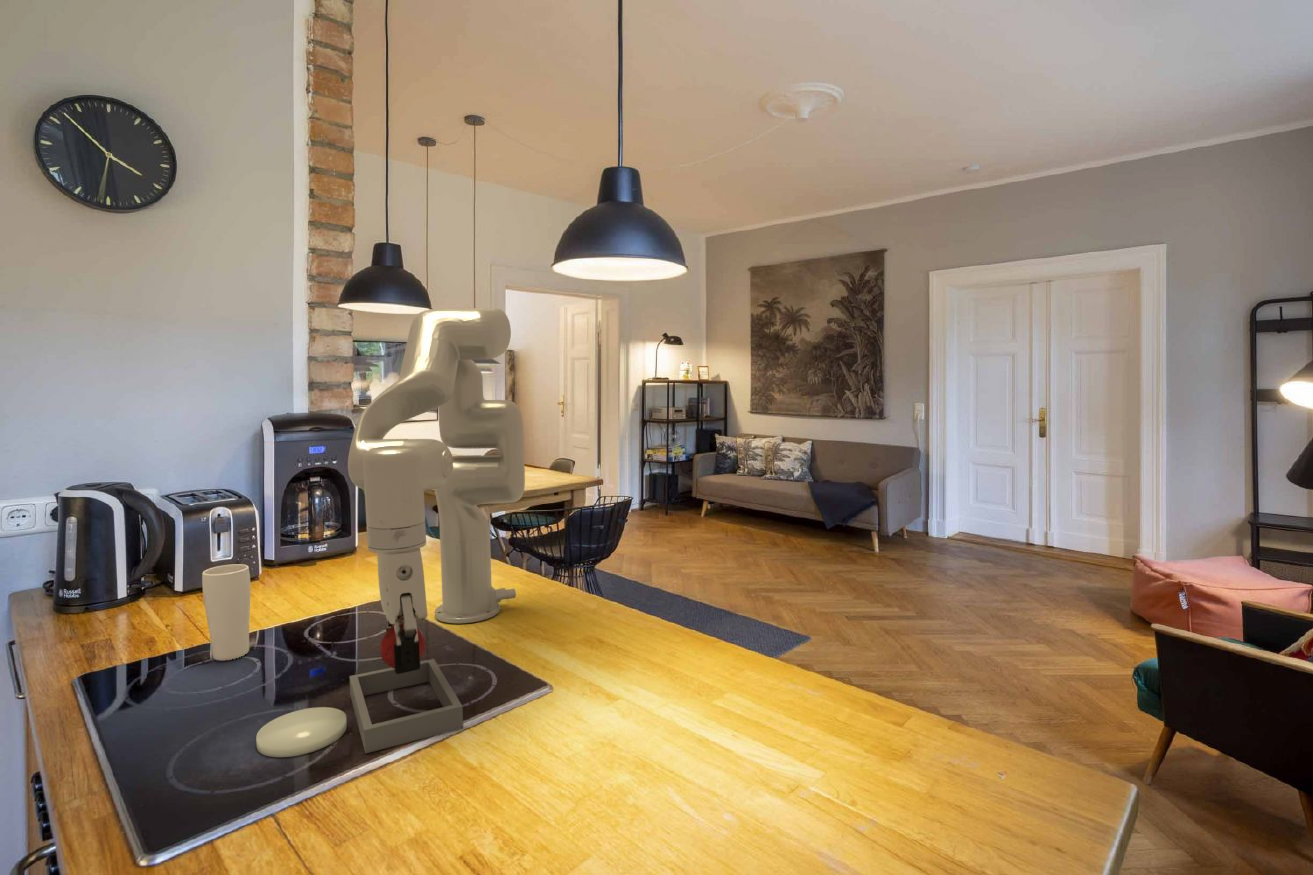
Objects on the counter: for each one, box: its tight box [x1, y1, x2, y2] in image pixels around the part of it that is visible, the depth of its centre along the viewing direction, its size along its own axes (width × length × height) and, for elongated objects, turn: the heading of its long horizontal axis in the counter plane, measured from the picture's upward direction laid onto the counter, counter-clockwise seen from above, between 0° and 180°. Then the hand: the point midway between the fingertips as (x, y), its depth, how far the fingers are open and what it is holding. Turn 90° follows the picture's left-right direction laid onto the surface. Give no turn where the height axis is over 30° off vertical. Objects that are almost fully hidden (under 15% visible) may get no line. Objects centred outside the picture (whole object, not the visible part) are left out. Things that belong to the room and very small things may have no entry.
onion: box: [379, 617, 426, 669], centre depth 93 cm, size 6×6×8 cm
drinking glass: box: [201, 563, 251, 662], centre depth 113 cm, size 7×7×15 cm
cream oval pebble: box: [255, 706, 348, 758], centre depth 87 cm, size 10×10×1 cm
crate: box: [348, 658, 464, 754], centre depth 93 cm, size 12×18×3 cm, turn 30°
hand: (403, 660), depth 94 cm, fingers closed on onion, 5 cm apart
